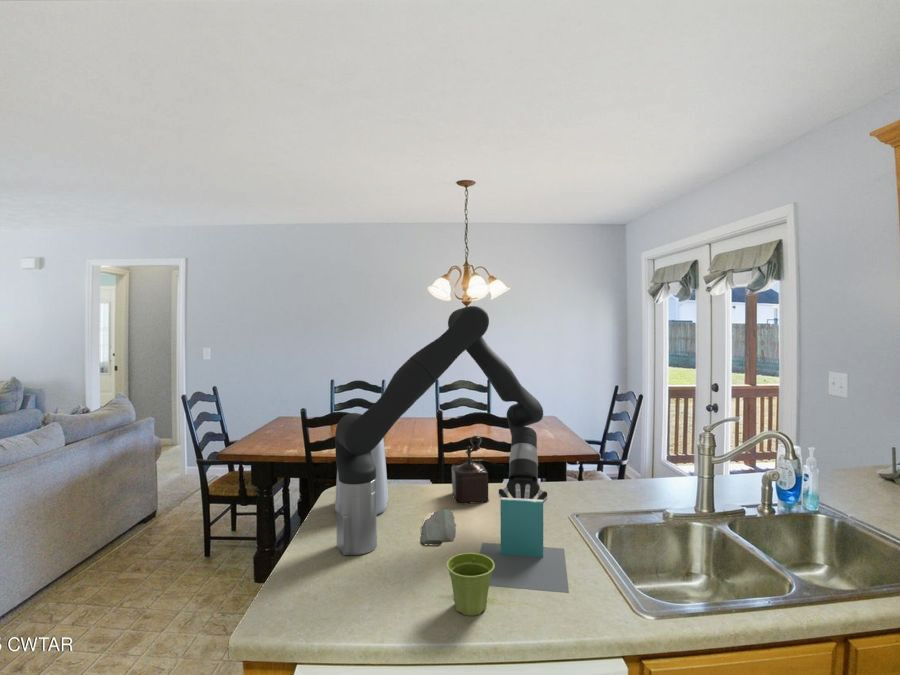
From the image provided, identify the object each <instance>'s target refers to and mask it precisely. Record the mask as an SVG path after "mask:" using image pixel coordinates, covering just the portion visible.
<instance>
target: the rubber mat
mask: <svg viewBox="0 0 900 675" xmlns="http://www.w3.org/2000/svg"><path fill="white" fill-rule="evenodd" d="M479 554H482V555H485V556H487V557H489V558H491V559H492V560H493V561H494V564H495V568H494V570H493V571H492V575H491V577H490V583H489V587H499V588H510V589H520V590H521V589H523V590H531V591H532V590H533V591H543V592H553V593H566V594H569V593H570V589H569V582H568V571H567V564H566V554H565V548H561V547H550V546H549V547H545V546H543V557H532V556H520V555H507V554H501V543H493V542H492V543H491V542H482V544H481V546H480V551H479Z"/></svg>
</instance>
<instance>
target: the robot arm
mask: <svg viewBox="0 0 900 675" xmlns="http://www.w3.org/2000/svg"><path fill="white" fill-rule="evenodd" d="M489 325H490V318H489V315H488V312H487V311H486V310H485V309H484V308H483V307H481V306H476V305H468V306H465V307H461V308H458V309H455V310H454V311H452V313H451V314H450V315H449V317H448V320H447V327H448V328H447V329H446V331H444V333H442V334H441V335H440V336H439V337H437V339H434V340H433V341H432V342H430V343H428V344H427V345H426V346H424V347H423V348H421V349H420V350H418V351H417V352H415V353H414V354H413V355H412V356H411V357H409V359H407V360H406V361H405V362H404V363H403V364H402V365H401V366H400V367H399V368H398V369H397V370H396V372H394V374H393V375H392V376H391V379H390V381H389V382H388V384H387V386H386V387H385V390H384V392H382V393H383V394H382V395H381V396H380V397H379V399H377V400H376V402H374V404H373V405H372V406H370V407H369V408H368V409H367V410H366V411H365V412H363V413H362V414H361V413H358V412H351V413H347V414H346V415H344V416H342V417H341V418H340V419H339V421H337V422H338V423H337V424H336V427H335V431H334V432H335V433H334V443H335V444H334V445H335V446H334V448H335V465H336V471H337V470H338V476H339V508H338V509H337V510H336V511H335V512H336V513H335V514H336V516H335V517H336V547H337V549H339V551H340V552H341V553H342V555H343V556H349V555H352V556H357V555H364V554H368V553H371V552H372V551H373V550H375V549H376V548H377V546H378V541H377V540H378V534H377V532H378V531H377V530H378V529H377V527H378V526H377V525H378V524H377V523H378V522H377V521H378V520H377V518H378V517H377V515H376V467H375V465H374V462H373V459H372V455H371V451H372V450H373V449H374V448H375V447H376V446H377V445H378V444H379V442H380V441H381V440H382V439H383V437H384V438H385V436H386V435H387V434H388V433H389V431H391V429H392V427H393V426H394V425H395V424H396V422H397V421H398V420H399V419H400V418H401V417H402V416H403V415H405V413H406V412H407V411H409V409H410V408H412V406H413V405H414V404H415V403H416V402H417V401H418V400H419V399H420V398H421V397H422V396H423V395H424V394H425V393H426V392H427V391H428V390H430V388H431V387H432V386H433V385H434V384H435V383H436V382H437V381H438V379H439V378H440V377H441V376H443V375H444V373H445V372H446V371H447V370H448V369H449V368H450V367H451V365H452V364H453V363H454V362H455V361H456V360H457V359H458V357H460V355H462V354H463V353H464V352H465V351H466V352H467V353H468V354H469V355H470V357H471V358H472V359H473V361H474V362H475V363H476V364H477V365H478V366H479V368H480V370H481V371H482V373H483V374H484V375H485V376H486V378H487V379H488V381H489V383H490V384H491V386H492V387H493V389H494V390H495V392H496V393H497V395H498V397H499V398H500V400H501V401H502V402H505V403H509V402H513V403H514V402H515V403H514V404H511V405H510V406H509V407H508V408H507V411H506V419H507V420H506V421H507V423H508V427H509V432H510V435H511V436H510V437H511V439H510V440H511V441H510V442H511V444H510V454H509V462H508V463H509V466H508V469H509V470H508V481H507V483H506V487H504V488H499V489H498V497H499V498H500V499H501V497H503V498H510V497H509V494H510V496H511V498H521V499H534V498H535V497H536V496H537V499H538V500H543V504H544V503H545V502H546V501H547V499H548V492H547V491H543V489H541V488H540V484H539V477H538V476H539V475H538V474H539V469H538V467H539V461H538V460H539V459H538V445H537V443H538V437H537V432H536V430H534V429H533V428H531V427H528V426H530V425H533V424H537V423H539V422H541V421H542V420H543V417H544V408H543V406H542V405H541V403H540V402H539V399H537V398H536V397H535V396H533V394H531V393H530V392H529V391H528V390H527V389H526V388H525V387H524V386H522V384H521V383H520V381H519V379H518V378H517V376H516V375H515V373H514V372H513V370H512V368H511V367H510V366H509V365H508V364H507V363H506V361H504V360H503V359H502V358H501V357H500V356H499V355H498V354H497V353H496V352H495V351H494V350H493V349H492V348H491V347H490V346H489V345H488V343H487V342H486V340H485V339H484V337H483V336H484V335H486V332H487V331H488V328H489Z"/></svg>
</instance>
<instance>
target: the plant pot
mask: <svg viewBox="0 0 900 675" xmlns="http://www.w3.org/2000/svg"><path fill="white" fill-rule="evenodd" d="M446 568H447V569H446V570H447V571H448V572H449V574H448V575H449V577H450V580H451V586H452V591H453V592H452V593H453V594H452V595H453V600H454V608H455V609H456V611H457V612H459V613H461V614H463V615H464V616H469V617H471V616H473V617H474V616H478V615H480V614H481V613H482V612H484V611H486V609H487V604H488V595H489V590H490V586H489V583H490V577H491V575H492V571H493V570H494V568H495V564H494V561H493V560H492V559H491V558H489V557H487V556H485V555H482V554H480V553H477V552H466V553H459V554H455V555H453V556H451V557H450V558H449V559H448V560H447V562H446Z"/></svg>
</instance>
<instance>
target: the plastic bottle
mask: <svg viewBox="0 0 900 675" xmlns="http://www.w3.org/2000/svg"><path fill="white" fill-rule="evenodd" d="M385 450H386V449H385V436H384V437H383V439H382V440H381V441H380V442H379V444H378V445H377V446H376V447H375V448H374V449H373V450H372V451H371V455H372V459H373V462H374V465H375V467H376V516H377V515H381V514H383V513H384V512H385V511H386V509H387V505H388V503H389V490H388V488H389V486H388V477H387V476H388V473H387V464H386V463H387V461H386V451H385ZM334 503H335V504H334V511H335V512H336V510H337V509H338V508H339V476H338V470H337V469H336V487H335V500H334Z"/></svg>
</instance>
